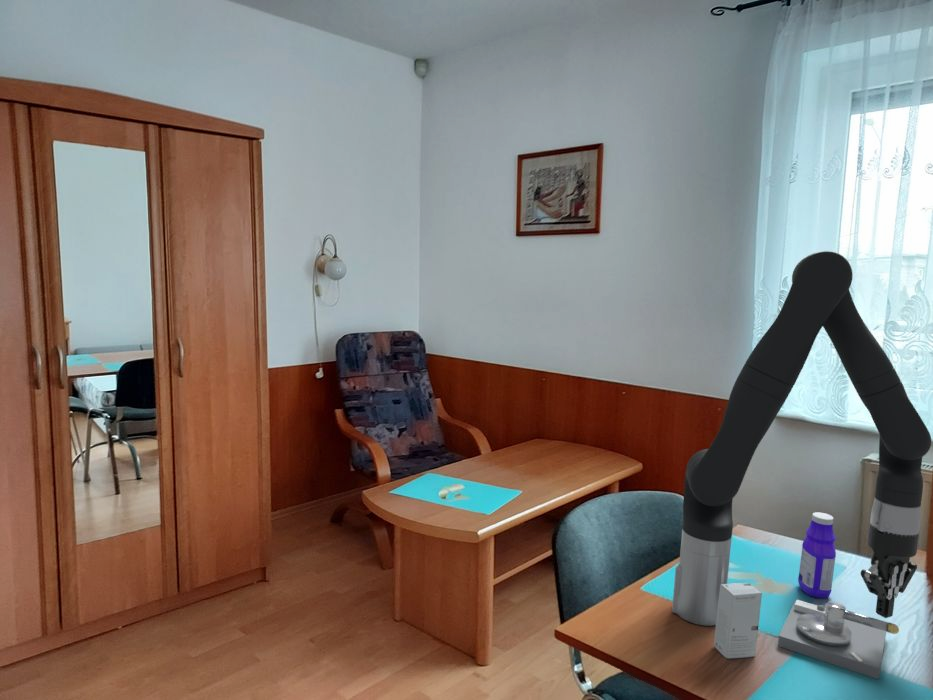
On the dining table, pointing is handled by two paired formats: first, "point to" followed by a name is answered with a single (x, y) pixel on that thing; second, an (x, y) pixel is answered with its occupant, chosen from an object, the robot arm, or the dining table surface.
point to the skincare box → (737, 620)
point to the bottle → (818, 557)
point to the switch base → (854, 656)
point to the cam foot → (837, 625)
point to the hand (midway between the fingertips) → (883, 615)
